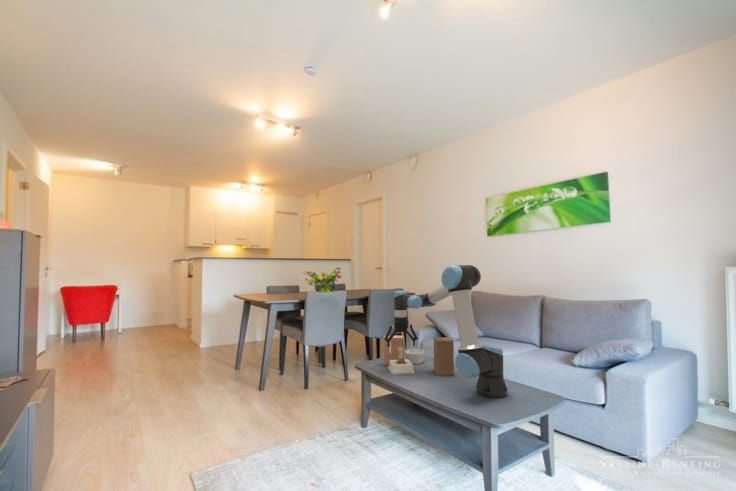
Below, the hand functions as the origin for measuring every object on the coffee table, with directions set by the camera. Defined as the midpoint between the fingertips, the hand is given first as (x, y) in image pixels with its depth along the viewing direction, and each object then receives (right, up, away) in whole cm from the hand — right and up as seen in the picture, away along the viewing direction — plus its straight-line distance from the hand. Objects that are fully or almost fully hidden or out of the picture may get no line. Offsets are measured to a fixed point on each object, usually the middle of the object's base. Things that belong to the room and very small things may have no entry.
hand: (401, 352), depth 217 cm
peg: (0, -10, 0) cm, 10 cm away
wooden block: (+25, -11, -5) cm, 28 cm away
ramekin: (+11, -12, +19) cm, 25 cm away
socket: (0, -11, 0) cm, 11 cm away
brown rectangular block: (-4, -12, +11) cm, 16 cm away
